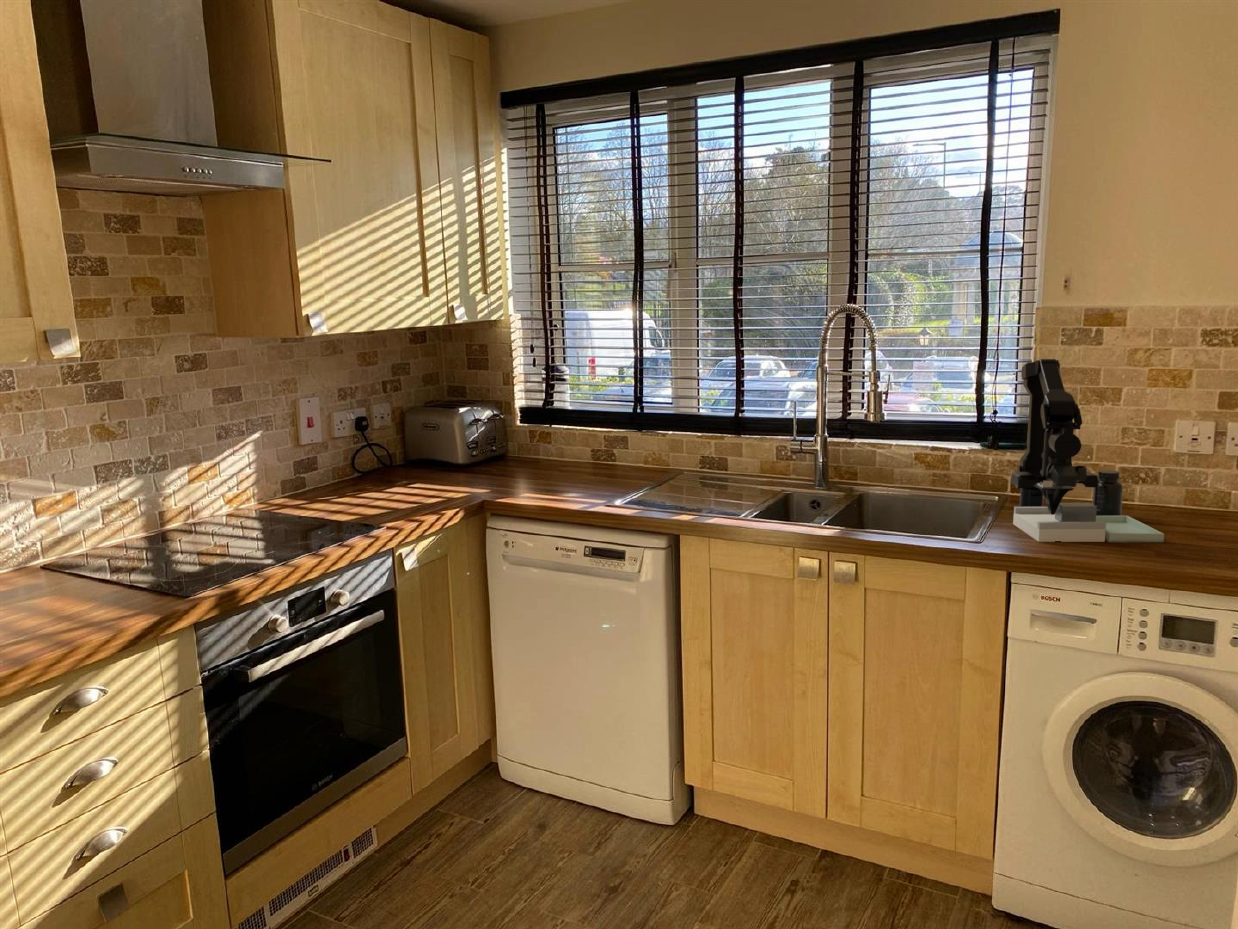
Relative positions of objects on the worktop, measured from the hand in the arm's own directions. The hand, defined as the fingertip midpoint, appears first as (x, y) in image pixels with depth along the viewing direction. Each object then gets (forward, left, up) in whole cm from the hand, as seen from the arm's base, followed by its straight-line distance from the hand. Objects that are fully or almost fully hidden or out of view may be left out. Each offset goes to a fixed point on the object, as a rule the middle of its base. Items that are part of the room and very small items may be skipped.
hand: (1052, 514), depth 222 cm
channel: (0, +2, -5) cm, 5 cm away
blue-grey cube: (0, +3, -2) cm, 4 cm away
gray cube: (0, +8, -2) cm, 8 cm away
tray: (0, +16, -5) cm, 17 cm away
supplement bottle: (-16, +20, -5) cm, 26 cm away
